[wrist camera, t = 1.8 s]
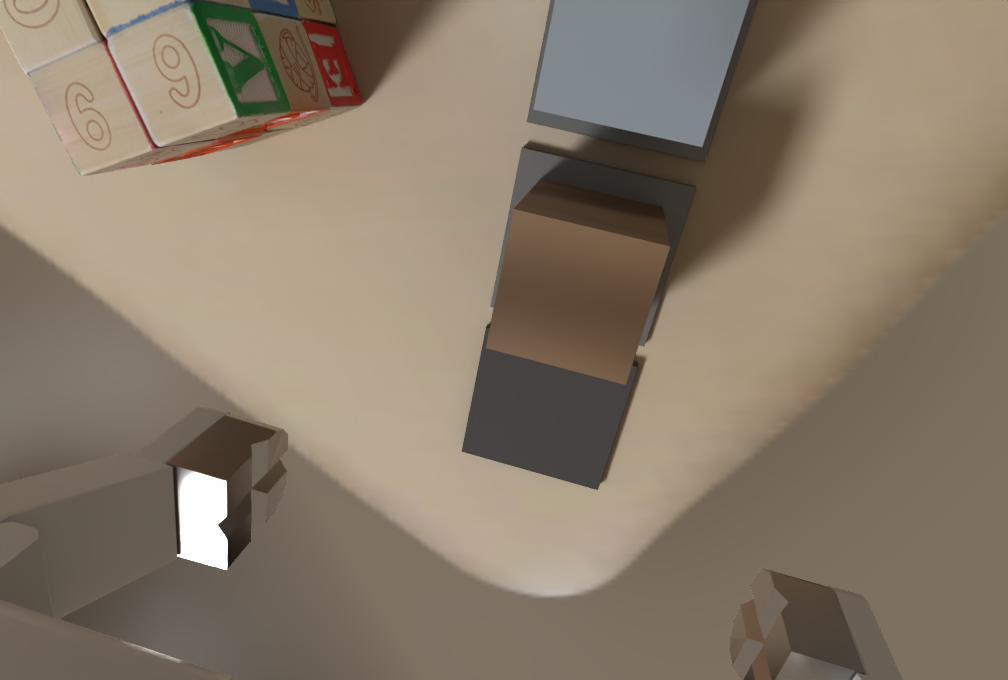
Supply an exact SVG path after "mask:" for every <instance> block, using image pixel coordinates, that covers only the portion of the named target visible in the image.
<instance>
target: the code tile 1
mask: <svg viewBox="0 0 1008 680" xmlns="http://www.w3.org/2000/svg"><path fill="white" fill-rule="evenodd" d="M540 179H544V180H549V181H553V182H557V183H561V184H566V185H570V186H574V187H578V188H583V189H587V190H591V191H596V192H600V193H604V194H608V195H613V196H617V197H621V198H625V199H630V200H634V201H638V202H643V203H647V204H651V205H655V206H660V207H663V210H664V216H665V221H666V226H667V232H668V237H669V242H670V249H669V252H668V255H667V258H666V261H665V265H664V268H663V271H662V274H661V277H660V280H659V283H658V286H657V289H656V293H655V296H654V299H653V302H652V305H651V308H650V311H649V314H648V317H647V321H646V324H645V327H644V330H643V333H642V336H641V339H640V342H639V345H641V346H645V343H646V340H647V337H648V334H649V331H650V328H651V325H652V321H653V318H654V315H655V312H656V309H657V306H658V303H659V300H660V297H661V294H662V291H663V288H664V285H665V282H666V279H667V276H668V273H669V269H670V266H671V263H672V260H673V257H674V254H675V251H676V248H677V245H678V242H679V239H680V236H681V233H682V230H683V227H684V224H685V221H686V217H687V214H688V211H689V208H690V205H691V202H692V199H693V196H694V193H695V190H696V187H695V186H691V185H686V184H682V183H678V182H673V181H669V180H665V179H660V178H656V177H652V176H647V175H643V174H639V173H634V172H630V171H625V170H621V169H617V168H612V167H608V166H604V165H599V164H595V163H591V162H586V161H582V160H578V159H573V158H569V157H564V156H560V155H556V154H551V153H547V152H543V151H538V150H534V149H530V148H525V147H522V149H521V154H520V159H519V164H518V169H517V175H516V180H515V185H514V190H513V195H512V200H511V205H510V210H509V215H508V220H507V225H506V231H505V236H504V241H503V246H502V251H501V256H500V261H499V266H498V271H497V276H496V281H495V287H494V292H493V297H492V302H491V307H493V308H494V304H495V299H496V294H497V289H498V284H499V279H500V274H501V269H502V264H503V259H504V254H505V249H506V244H507V239H508V234H509V229H510V224H511V219H512V214H513V209H514V208H515V207H516V206H517V204H518V203H519V202H520V201H521V200H522V199H523V198H524V197H525V196H526V194H527V193H528V192H529V191H530V190H531V189H532V188H533V187H534V185H535V184H536V183H537V182H538V181H539V180H540Z"/></svg>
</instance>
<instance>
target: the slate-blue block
mask: <svg viewBox="0 0 1008 680" xmlns="http://www.w3.org/2000/svg"><path fill="white" fill-rule="evenodd" d="M749 1H750V0H555V3H554V8H553V13H552V18H551V23H550V28H549V33H548V38H547V43H546V48H545V53H544V58H543V63H542V68H541V73H540V78H539V83H538V88H537V93H536V98H535V103H534V108H533V110H538V111H542V112H547V113H551V114H556V115H560V116H565V117H569V118H574V119H578V120H583V121H587V122H591V123H596V124H600V125H605V126H609V127H614V128H618V129H623V130H627V131H632V132H636V133H641V134H645V135H650V136H654V137H659V138H663V139H668V140H672V141H677V142H681V143H686V144H690V145H695V146H699V147H703V143H704V140H705V137H706V134H707V131H708V128H709V125H710V122H711V119H712V115H713V112H714V109H715V106H716V103H717V100H718V97H719V94H720V91H721V87H722V84H723V81H724V78H725V75H726V72H727V69H728V66H729V63H730V60H731V56H732V53H733V50H734V47H735V44H736V41H737V38H738V35H739V32H740V28H741V25H742V22H743V19H744V16H745V13H746V10H747V7H748V4H749Z"/></svg>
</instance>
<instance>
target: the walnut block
mask: <svg viewBox="0 0 1008 680" xmlns="http://www.w3.org/2000/svg"><path fill="white" fill-rule="evenodd" d="M669 249H670V242H669V237H668V232H667V226H666V221H665V216H664V210H663V207H660V206H655V205H651V204H647V203H643V202H638V201H634V200H630V199H625V198H621V197H617V196H613V195H608V194H604V193H600V192H596V191H591V190H587V189H583V188H578V187H574V186H570V185H566V184H561V183H557V182H553V181H549V180H544V179H540V180H539V181H538V182H537V183H536V184H535V185H534V187H533V188H532V189H531V190H530V191H529V192H528V193H527V194H526V196H525V197H524V198H523V199H522V200H521V201H520V202H519V203H518V204H517V206H516V207H515V208H514V209H513V214H512V219H511V224H510V229H509V234H508V239H507V244H506V249H505V254H504V259H503V264H502V269H501V274H500V279H499V284H498V289H497V294H496V299H495V304H494V309H493V314H492V319H491V324H490V329H489V334H488V339H487V344H486V348H488V349H492V350H496V351H499V352H503V353H507V354H511V355H514V356H518V357H522V358H526V359H530V360H533V361H537V362H541V363H545V364H548V365H552V366H556V367H560V368H564V369H567V370H571V371H575V372H579V373H582V374H586V375H590V376H594V377H598V378H601V379H605V380H609V381H613V382H616V383H620V384H624V385H626V383H627V380H628V376H629V373H630V370H631V367H632V364H633V361H634V358H635V355H636V352H637V348H638V345H639V342H640V339H641V336H642V333H643V330H644V327H645V324H646V321H647V317H648V314H649V311H650V308H651V305H652V302H653V299H654V296H655V293H656V289H657V286H658V283H659V280H660V277H661V274H662V271H663V268H664V265H665V261H666V258H667V255H668V252H669Z"/></svg>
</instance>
